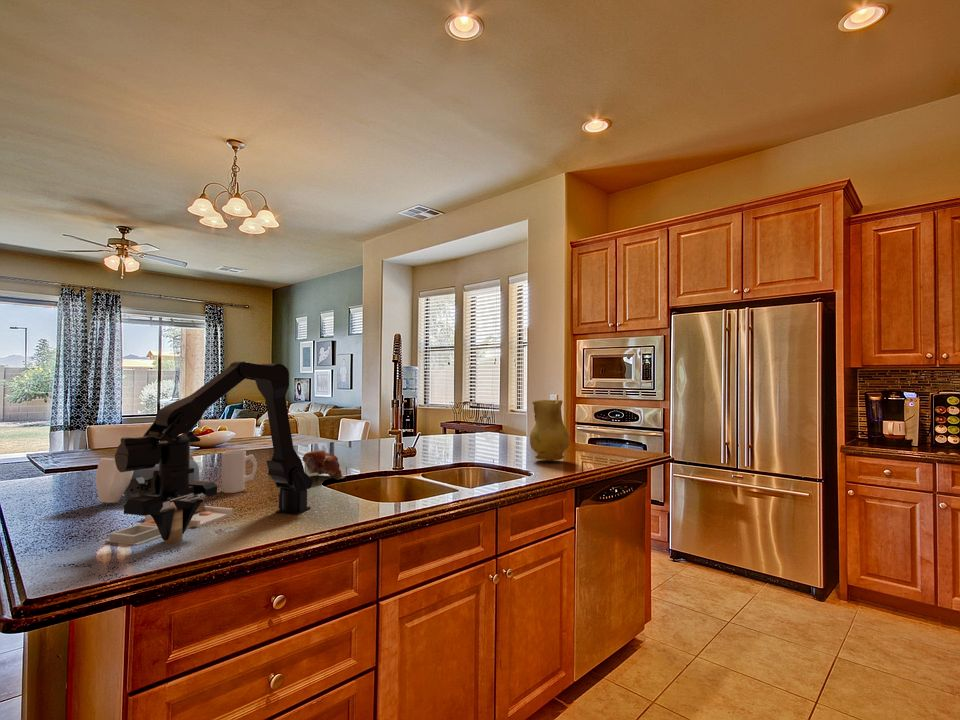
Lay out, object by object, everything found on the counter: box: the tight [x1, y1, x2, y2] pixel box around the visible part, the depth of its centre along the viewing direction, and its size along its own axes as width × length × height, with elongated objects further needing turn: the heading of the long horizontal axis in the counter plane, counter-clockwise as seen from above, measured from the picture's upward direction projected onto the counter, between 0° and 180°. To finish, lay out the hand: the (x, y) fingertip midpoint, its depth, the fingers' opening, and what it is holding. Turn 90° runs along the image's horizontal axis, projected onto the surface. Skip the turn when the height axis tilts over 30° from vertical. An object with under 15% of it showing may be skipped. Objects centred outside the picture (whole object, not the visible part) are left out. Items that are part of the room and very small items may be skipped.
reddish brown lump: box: [301, 450, 346, 480], centre depth 176 cm, size 16×13×10 cm
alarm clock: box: [122, 454, 200, 500], centre depth 151 cm, size 19×20×12 cm
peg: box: [163, 509, 183, 544], centre depth 109 cm, size 3×3×7 cm
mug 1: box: [95, 457, 134, 503], centre depth 138 cm, size 12×8×11 cm
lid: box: [170, 497, 206, 512], centre depth 127 cm, size 10×9×3 cm
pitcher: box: [529, 399, 570, 461], centre depth 219 cm, size 17×19×25 cm
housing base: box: [144, 505, 234, 528], centre depth 126 cm, size 16×11×2 cm
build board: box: [104, 519, 194, 546], centre depth 113 cm, size 9×14×2 cm, turn 164°
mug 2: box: [221, 449, 258, 494], centre depth 157 cm, size 10×7×12 cm, turn 119°
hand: (173, 536), depth 109 cm, fingers open, 4 cm apart
